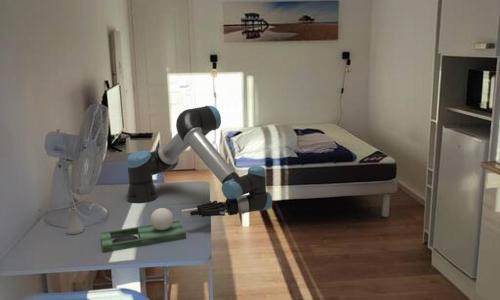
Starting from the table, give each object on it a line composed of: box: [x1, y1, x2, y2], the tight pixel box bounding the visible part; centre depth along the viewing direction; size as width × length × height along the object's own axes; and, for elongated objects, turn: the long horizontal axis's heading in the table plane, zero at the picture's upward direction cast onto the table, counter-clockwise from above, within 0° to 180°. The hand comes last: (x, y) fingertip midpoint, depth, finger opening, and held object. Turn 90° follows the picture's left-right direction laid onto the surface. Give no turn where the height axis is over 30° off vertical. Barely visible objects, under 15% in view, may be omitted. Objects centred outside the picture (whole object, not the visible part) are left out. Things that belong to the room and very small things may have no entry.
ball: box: [150, 207, 174, 230], centre depth 194 cm, size 9×9×9 cm
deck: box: [100, 220, 187, 253], centre depth 192 cm, size 14×32×2 cm, turn 109°
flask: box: [65, 207, 85, 235], centre depth 201 cm, size 7×7×10 cm
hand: (182, 213), depth 196 cm, fingers closed
